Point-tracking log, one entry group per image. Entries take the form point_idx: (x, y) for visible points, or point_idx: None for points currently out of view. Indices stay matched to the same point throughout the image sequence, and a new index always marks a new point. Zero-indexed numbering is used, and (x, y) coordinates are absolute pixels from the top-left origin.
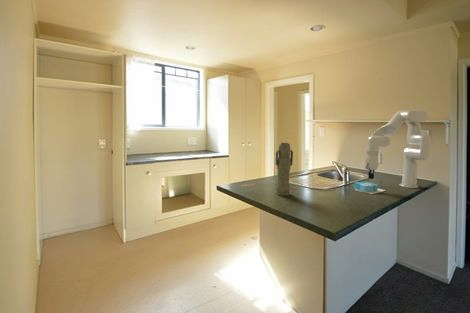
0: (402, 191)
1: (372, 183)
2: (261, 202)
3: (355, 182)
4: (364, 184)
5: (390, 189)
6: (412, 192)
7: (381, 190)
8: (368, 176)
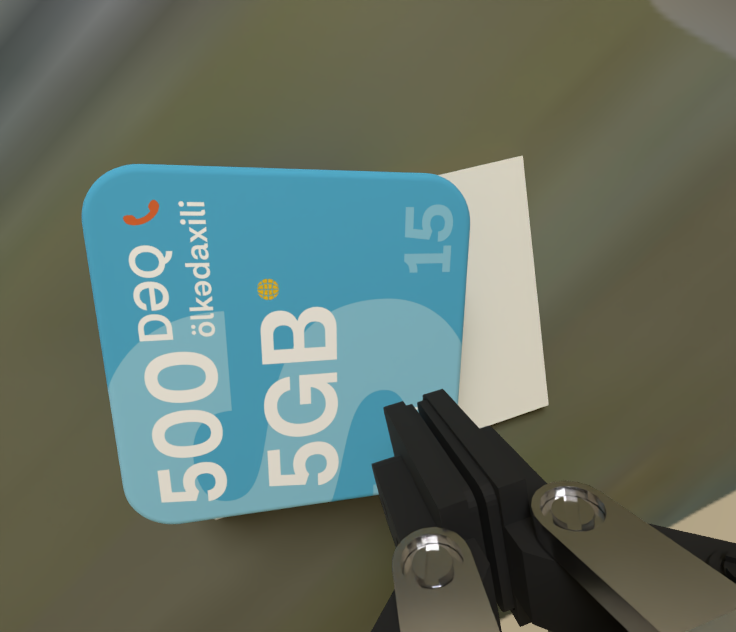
0: (691, 446)
1: (452, 362)
2: None
3: (131, 180)
4: (208, 407)
5: (668, 346)
6: (732, 492)
7: (489, 405)
8: (396, 430)
